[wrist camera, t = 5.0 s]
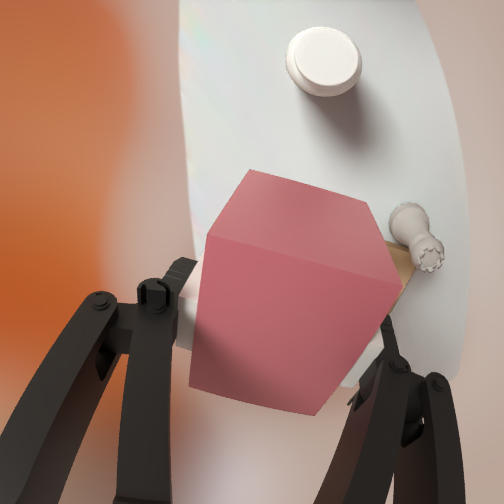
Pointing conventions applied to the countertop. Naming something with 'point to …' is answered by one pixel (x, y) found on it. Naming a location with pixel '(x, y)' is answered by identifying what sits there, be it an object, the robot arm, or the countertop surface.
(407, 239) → the rook chess piece
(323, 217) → the brick
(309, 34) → the pill bottle
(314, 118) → the countertop surface
